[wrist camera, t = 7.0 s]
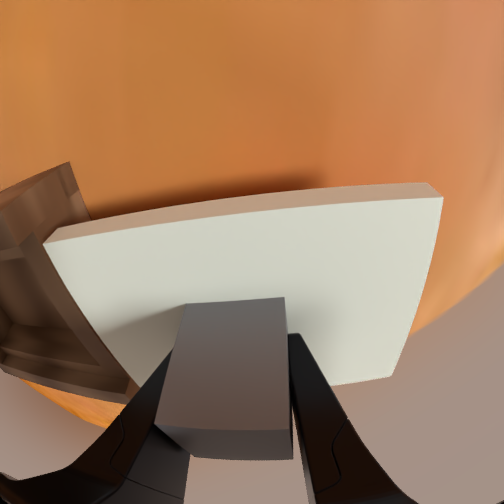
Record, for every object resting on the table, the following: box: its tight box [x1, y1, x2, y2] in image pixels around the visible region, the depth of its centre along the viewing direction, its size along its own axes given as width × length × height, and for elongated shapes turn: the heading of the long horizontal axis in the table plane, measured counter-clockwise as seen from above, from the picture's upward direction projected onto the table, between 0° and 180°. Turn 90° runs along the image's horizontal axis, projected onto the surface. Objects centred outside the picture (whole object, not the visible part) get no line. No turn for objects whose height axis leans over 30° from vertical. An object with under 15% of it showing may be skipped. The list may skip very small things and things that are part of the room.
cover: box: [43, 182, 444, 460], centre depth 8 cm, size 12×9×5 cm
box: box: [0, 162, 141, 405], centre depth 13 cm, size 14×12×4 cm
